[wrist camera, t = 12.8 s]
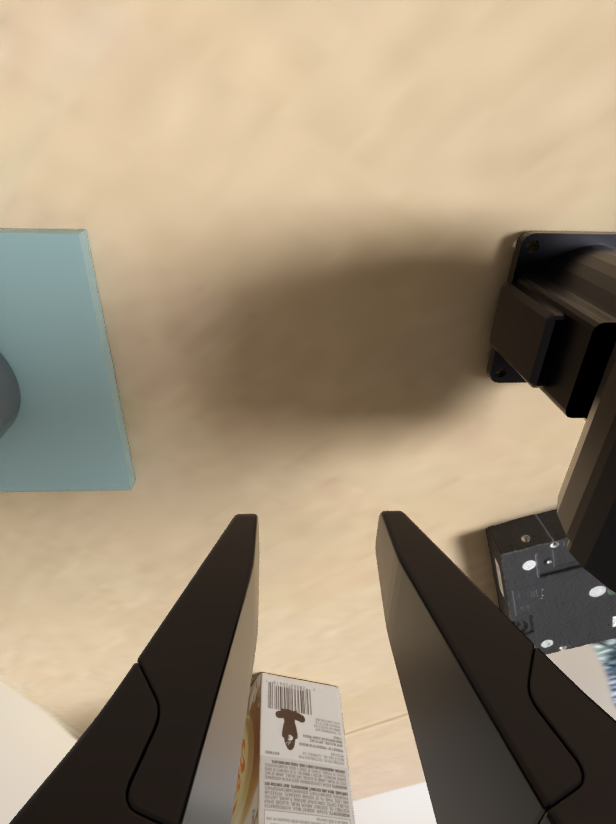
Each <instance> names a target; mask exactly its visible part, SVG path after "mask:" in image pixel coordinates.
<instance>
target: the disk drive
mask: <svg viewBox="0 0 616 824" xmlns="http://www.w3.org/2000/svg"><path fill="white" fill-rule="evenodd" d="M486 532H487V538H488V542H489V543H488V545H489V549H490V556H491V561H492V567H493V573H494V579H495V585H496V590H497V596H498V602H499V608H500V610H501V611H502V612H503V613H504V614H505V615H506V616H507V617H508V618H509V619H510V620H511V621H512V622H513V623H514V624H515V625H516V626H517V627H518V628H519V629H520V630H521V631H522V632H523V633H524V634H525V635H526V636H527V637H528V638H529V639H530V640H531V641H532V642H533V643H534V645H535V646H534V648H539V649H540V650H541V651H542V652H543V653H544V654H545V655H546V654H550V653H554V652H558V651H560V650H561V649H571V648H575V647H580V646H583V645H586V644H591V643H597V642H600V641H604V640H608V639H613V638H616V594H615V593H613V592H612V591H610V590H609V589H608V588H607V587H605V586H604V585H603V584H602V583H600V582H599V581H598V580H597V579H595V578H594V577H593V576H592V575H590V574H589V573H588V572H587V571H586V570H585V569H584V568H583V567H582V566H581V565H580V563H579V562H578V561H577V560H576V559H575V558H574V557H573V556H572V555H571V553H570V552H569V551H568V549H567V544H568V541H569V539H568V537H567V536H566V534H565V531H564V529H563V527H562V524H561V522H560V520H559V517H558V515H557V509H556V510H552V511H548V512H544V513H540V514H537V515H531V516H527V517H523V518H519V519H515V520H511V521H509V522H507V523H502V524H499V525H497V526H491V527H488V528H487V529H486Z"/></svg>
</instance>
